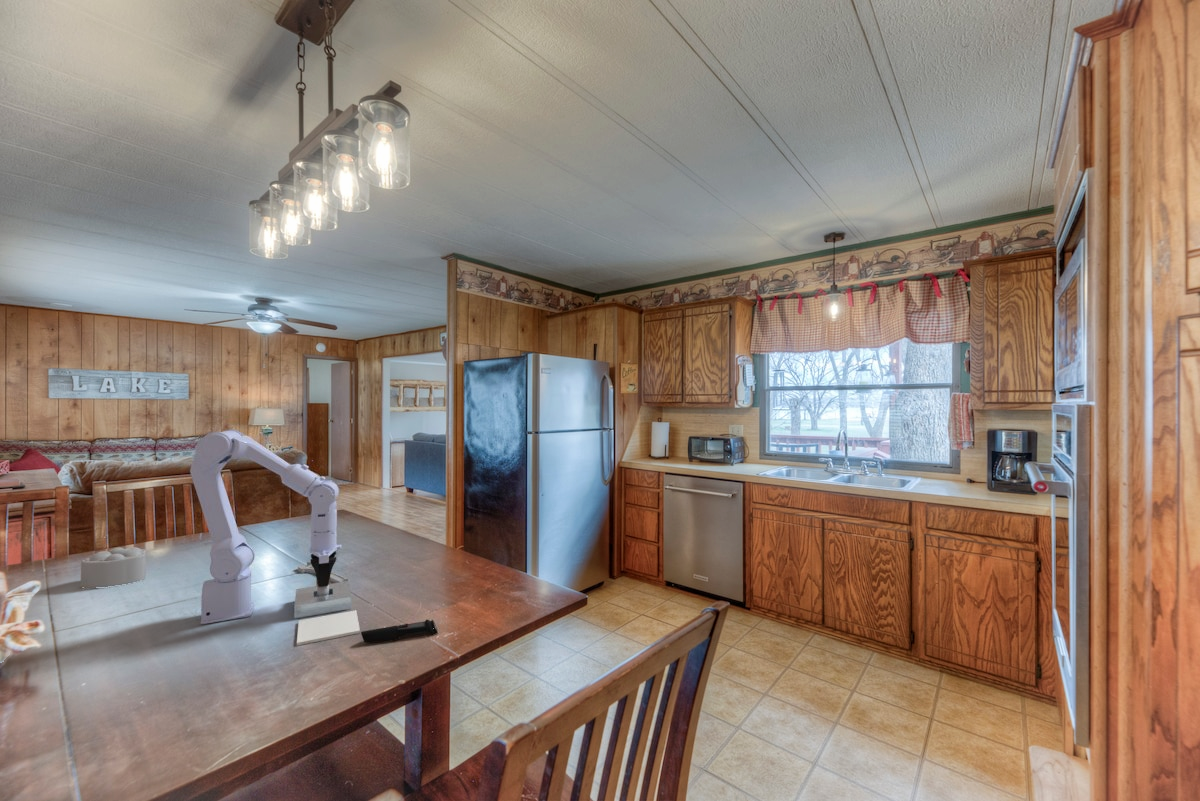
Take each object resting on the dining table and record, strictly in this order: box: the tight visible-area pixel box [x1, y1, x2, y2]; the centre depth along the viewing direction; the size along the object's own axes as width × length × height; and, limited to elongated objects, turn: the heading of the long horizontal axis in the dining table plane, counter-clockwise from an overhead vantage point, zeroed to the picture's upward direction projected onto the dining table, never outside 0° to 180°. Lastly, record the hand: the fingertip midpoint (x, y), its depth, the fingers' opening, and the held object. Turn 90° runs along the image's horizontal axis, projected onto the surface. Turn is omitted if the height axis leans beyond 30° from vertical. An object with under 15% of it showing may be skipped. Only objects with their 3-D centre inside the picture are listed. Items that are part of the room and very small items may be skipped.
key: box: [315, 577, 331, 597], centre depth 126 cm, size 3×3×8 cm
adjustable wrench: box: [297, 560, 351, 584], centre depth 146 cm, size 25×6×2 cm, turn 50°
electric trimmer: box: [360, 619, 439, 644], centre depth 109 cm, size 4×16×3 cm, turn 112°
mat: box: [296, 609, 361, 647], centre depth 113 cm, size 12×12×1 cm
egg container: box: [80, 546, 147, 588], centre depth 140 cm, size 10×13×9 cm
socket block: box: [293, 581, 352, 620], centre depth 126 cm, size 12×12×3 cm
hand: (323, 583), depth 126 cm, fingers closed on key, 3 cm apart
